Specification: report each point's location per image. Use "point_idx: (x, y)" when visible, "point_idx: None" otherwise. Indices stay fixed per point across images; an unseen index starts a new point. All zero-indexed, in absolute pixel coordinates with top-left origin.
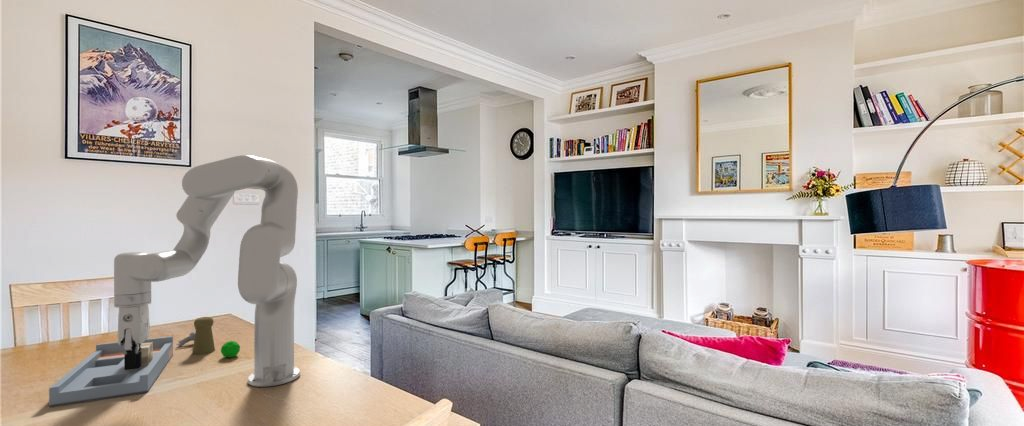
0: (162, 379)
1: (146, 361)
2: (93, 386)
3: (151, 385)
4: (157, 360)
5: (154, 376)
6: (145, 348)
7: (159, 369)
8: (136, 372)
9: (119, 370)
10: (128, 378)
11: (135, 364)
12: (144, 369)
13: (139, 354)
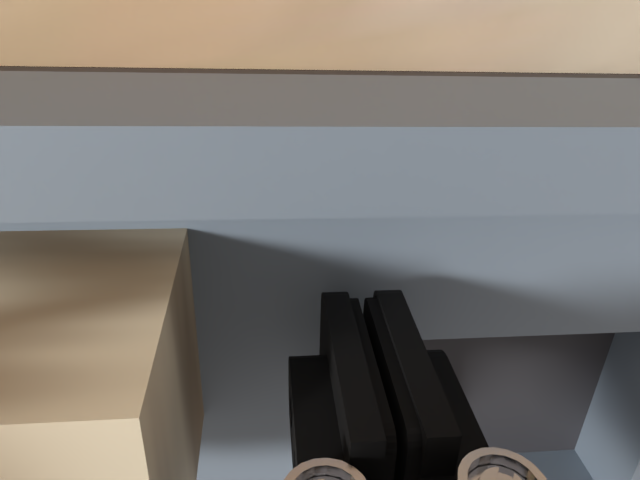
0: (393, 7)
1: (183, 276)
2: (637, 473)
3: (611, 77)
4: (275, 140)
5: (495, 87)
6: (148, 439)
7: (210, 84)
8: (437, 283)
9: (260, 435)
10: (612, 303)
11: (445, 355)
12: (360, 232)
13: (454, 424)
